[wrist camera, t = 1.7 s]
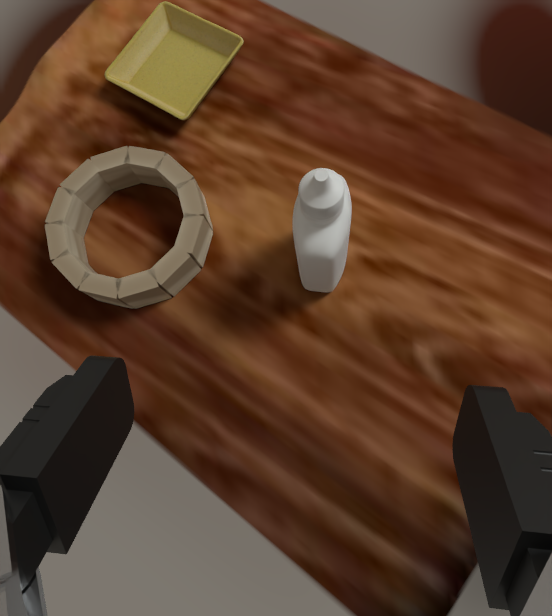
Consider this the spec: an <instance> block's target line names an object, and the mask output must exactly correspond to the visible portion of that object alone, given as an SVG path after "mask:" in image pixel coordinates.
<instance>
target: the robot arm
mask: <svg viewBox="0 0 552 616" xmlns="http://www.w3.org/2000/svg"><path fill="white" fill-rule="evenodd" d="M133 419H134V403H133V398H132V393H131V389H130V384H129V379H128V374H127V370H126V365H125V362H124V360H123V359H122V358H116V357H103V356H89V357H87V358H86V359H85V361H84V362H83V363H82V365H81V366H80V367H79V369H78V370H77V371H76V373H75V374H74V375H73V376H72V375H65V376H64V377H62V378H61V379H59V380H58V381H57V382H55V383H54V384H52V385H51V386H49V387H48V388H47V389H46V390H45V391H44V392H43V394H42V395H41V396H40V397H39V399H38V400H37V401H36V402H35V404H34V405H33V408H31V409H30V410H29V411H28V412H27V414H26V415H25V416H24V418H23V421H22V422H19V424H18V425H17V426H16V428H15V429H14V430H13V431H12V433H11V434H10V435H9V436H8V438H7V439H6V440H5V442H4V443H3V444H2V445H1V446H0V616H47V610H46V604H45V599H44V592H43V587H42V580H41V575H40V571H39V568H38V566H39V565H40V563H41V561H42V559H43V557H44V555H45V554H46V552H51V553H60V554H67V552H68V551H69V548H70V547H71V545H72V543H73V541H74V539H75V537H76V535H77V533H78V531H79V529H80V527H81V525H82V523H83V521H84V519H85V518H86V516H87V514H88V512H89V510H90V508H91V506H92V504H93V502H94V500H95V498H96V496H97V494H98V492H99V490H100V488H101V486H102V484H103V483H104V481H105V479H106V477H107V475H108V473H109V471H110V469H111V467H112V465H113V463H114V461H115V459H116V457H117V455H118V453H119V451H120V450H121V448H122V445H123V444H124V442H125V440H126V438H127V436H128V434H129V432H130V430H131V427H132V424H133ZM453 459H454V464H455V468H456V472H457V476H458V481H459V485H460V489H461V493H462V497H463V501H464V505H465V510H466V514H467V518H468V522H469V526H470V530H471V534H472V539H473V543H474V547H475V551H476V555H477V559H478V563H479V567H480V572H481V576H482V579H483V584H484V588H485V592H486V596H487V600H488V605H489V607H490V608H496V609H505V610H509V611H510V615H511V616H552V437H551V435H550V433H549V431H548V430H547V429H546V428H545V427H544V426H543V425H542V424H541V423H540V422H539V421H538V420H537V419H536V418H535V417H534V416H533V415H532V414H531V413H522V412H516V410H515V407H514V405H513V403H512V400H511V398H510V396H509V393H508V391H507V390H506V389H505V388H503V387H489V386H476V385H469V386H467V388H466V390H465V393H464V397H463V401H462V405H461V408H460V412H459V416H458V420H457V424H456V427H455V431H454V436H453Z"/></svg>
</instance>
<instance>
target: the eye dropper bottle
mask: <svg viewBox="0 0 552 616" xmlns="http://www.w3.org/2000/svg"><path fill="white" fill-rule="evenodd" d="M298 191H299V194H298V196H297V199H296V202H295V206H294V211H293V237H294V244H295V250H296V256H297V262H298V268H299V274H300V278H301V282H302V285H303V287H304V288H305V289H307V290H309V291H317V292H331V291H333V290H334V289H335V287H336V286H337V284H338V282H339V280H340V278H341V276H342V274H343V271H344V267H345V263H346V257H347V249H348V241H349V233H350V224H351V211H352V207H351V197H350V193H349V189H348V186H347V183H346V181H345V179H344V178H343V177H342V176H341V175H339V174H337V173H336V172H335V171H333V170H331V169H326V168H318V169H314V170H312V171H310V172H308V173H307V174H306V175H304V177H303V178H302V180H301V181H300V185H299V190H298Z"/></svg>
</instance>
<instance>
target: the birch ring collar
mask: <svg viewBox="0 0 552 616" xmlns="http://www.w3.org/2000/svg"><path fill="white" fill-rule="evenodd" d="M140 183H145V184H150V185H155V186H160V187H165V188H169V189H170V190H171V191H172V192H174V193H175V194H176V195H177V196H178V197H179V199H180V203H181V207H182V211H183V215H184V217H183V220H182V223H181V226H180V229H179V233H178V236H177V239H176V242H175V245H174V247H173V248H172V249H171V250H170V251H169V252H168V253H167V254H166V255H164V256H163V257H162V258H161V259H160V260H159V261H158V262H157V263H156V264H155V265H154V266H153V267H152V268H151V269H149V270H146V271H143V272H140V273H136V274H133V275H130V276H126V277H123V278H120V279H117V278H113V277H109V276H104V275H100V274H97V273H96V272H95V271H94V270H93V269H92V268H91V267H90V266H89V264H88V259H87V254H86V248H85V243H84V235H85V233H86V230H87V227H88V224H89V221H90V219H91V216H92V213H93V211H94V210H95V209H96V208H97V207H98V206H99V205H100V204H101V203H103V202H104V201H105V200H106V199H107V198H108V197H109V196H110V195H111V194H112V193H113V192H114V191H117V190H120V189H124V188H127V187H130V186H133V185H137V184H140ZM60 185H61V186H62V187H63V188H61V187H58V189H57V191H56V194H55V197H54V199H53V202H52V205H51V207H50V210H49V212H48V215H47V218H46V220H45V222H46V223H47V224H45V230H46V236H47V242H48V248H49V255H50V260H51V261H52V263H53V264H54V266H55V267H56V268H57V269H58V270H59V271H60V272H61V273H62V274H63V275H64V276H65V277H66V278H67V279H68V280H69V282H70V283H71V284H72V285H73V286H74V287H75V288H76V289H78V290H80V291H81V292H83V293H85V294H87V295H89V296H90V297H92V298H94V299H96V300H98V301H101V302H106V303H110V304H114V305H118V306H122V307H127V308H131V309H133V308H135V309H137V308H140V307H143V306H147V305H150V304H153V303H157V302H160V301H163V300H167V299H170V298H172V297H171V294H172V295H173V296H175V295H176V294H177V293H178V292H179V291H180V290H181V289H182V288H183V287H184V286H185V285H186V284H187V283H188V282H189V281H190V280H191V279H192V278H194V277H195V276H196V275H197V274H198V273H199V272H200V271H201V269H200V267H203V265H204V262H205V258H206V255H207V252H208V248H209V245H210V242H211V238H212V235H213V232H212V230H213V227H212V224H211V220H210V216H209V212H208V208H207V205H206V201H205V197H204V196H203V194H202V192H201V190H200V188H199V186H198V184H197V182H196V181H195V179H194V177H193V176H192V175H191V174H190V173H189V172H188V171H186V170H185V169H184V168H183V167H182V166H181V165H180V164H179V163H177V162H176V161H175V160H174V159H173V158H172V157H171V156H170V155H169V154H166V153H165V152H161V151H155V150H150V149H144V148H139V147H133V146H129V148H128V147H127V146H125V147H122V148H118V149H115V150H112V151H109V152H106V153H102V154H99V155H96V156H93V157H91V161H90V160H89V159H87V160H86V161H85V162H84V163H83V164H82V165H81V166H79V167H78V168H77V169H76V170H75V171H74V172H73V173H72V174H71V175H70V176H69V177H68V178H66V179H65V180H64V181H63V182H62V183H61V184H60Z"/></svg>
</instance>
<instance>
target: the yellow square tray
mask: <svg viewBox="0 0 552 616" xmlns="http://www.w3.org/2000/svg"><path fill="white" fill-rule="evenodd" d="M243 42H244V41H243V39H242V38H241V37H240V36H239V35H237V34H235V33H232V32H230V31H228V30H226V29H224V28H222V27H220V26H218V25H216V24H214V23H211V22H209V21H207V20H204V19H202V18H200V17H199V16H196V15H194V14H193V13H190V12H188V11H186V10H184V9H182V8H180V7H178V6H176V5H174V4H172V3H170V2H162V3H160V4H159V5H158V6H157V7H156V9H155V10H154V11H153V13H152V14H151V15H150V16H149V18H148V19H147V20H146V21H145V23H144V24H143V25H142V26H141V28H140V29H139V30H138V31H137V33H136V34H135V35H134V36H133V38H132V39H131V40H130V41H129V43H128V44H127V45H126V47H125V48H124V49H123V50H122V52H121V53H120V54H119V55H118V56H117V57H116V59H115V60H114V61H113V62H112V64H111V65H110V66H109V67H108V69H107V70H106V71H105V78H106V80H108V81H110V82H112V83H114V84H116V85H118V86H120V87H121V88H123V89H125V90H127V91H129V92H131V93H133V94H134V95H136V96H138V97H140V98H142V99H144V100H146V101H147V102H149V103H151V104H153V105H155V106H157V107H158V108H160V109H162V110H164V111H166V112H168V113H170V114H171V115H173V116H175V117H177V118H179V119H181V120H187V119H189V118H190V117H191V115H192V114H193V112H194V111H195V110H196V108H197V107H198V106H199V104H200V103H201V102H202V100H203V99H204V98H205V96H206V95H207V94H208V92H209V91H210V89H211V88H212V87H213V85H214V84H215V83H216V81H217V80H218V79H219V77H220V76H221V75H222V73H223V72H224V71H225V69H226V68H227V67H228V65H229V64H230V63H231V61H232V60H233V59H234V57H235V56H236V54H237V53H238V52H239V50H240V48H241V46H242V44H243Z"/></svg>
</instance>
